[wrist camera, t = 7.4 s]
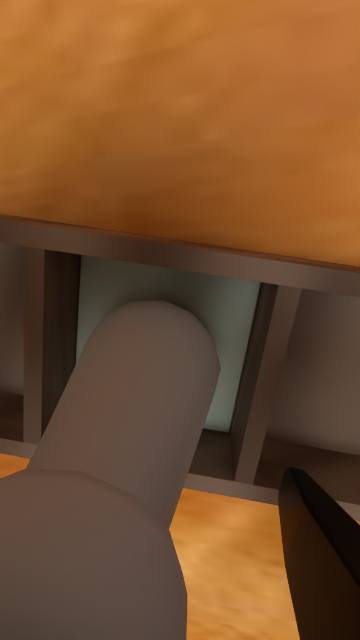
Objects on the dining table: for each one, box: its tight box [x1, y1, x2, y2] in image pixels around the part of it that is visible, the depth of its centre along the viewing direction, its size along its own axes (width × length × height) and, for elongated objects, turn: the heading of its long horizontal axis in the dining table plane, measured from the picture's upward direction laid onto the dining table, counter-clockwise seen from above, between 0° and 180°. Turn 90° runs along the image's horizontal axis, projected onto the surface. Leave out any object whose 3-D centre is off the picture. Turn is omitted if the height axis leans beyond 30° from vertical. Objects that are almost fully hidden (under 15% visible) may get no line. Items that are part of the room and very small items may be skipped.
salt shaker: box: [0, 300, 221, 640], centre depth 10 cm, size 6×6×13 cm
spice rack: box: [0, 214, 360, 521], centre depth 15 cm, size 29×10×4 cm, turn 82°
